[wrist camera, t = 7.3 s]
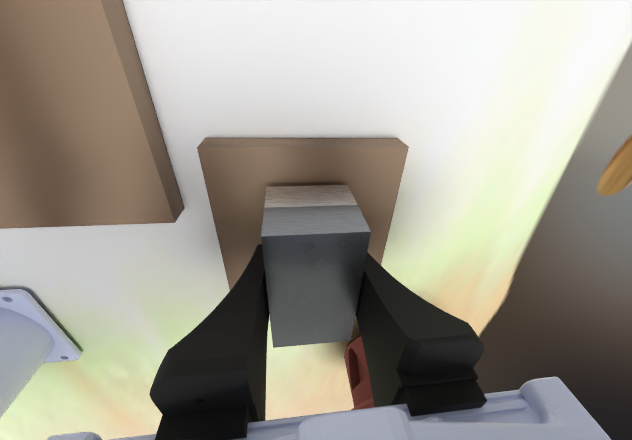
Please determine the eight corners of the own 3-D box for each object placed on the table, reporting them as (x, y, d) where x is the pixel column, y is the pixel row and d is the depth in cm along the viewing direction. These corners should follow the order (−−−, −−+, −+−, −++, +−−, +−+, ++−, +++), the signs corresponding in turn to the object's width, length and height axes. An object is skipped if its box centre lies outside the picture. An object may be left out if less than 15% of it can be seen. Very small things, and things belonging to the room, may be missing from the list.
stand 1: (-13, 213, 14) (-43, 230, 12) (-270, -103, 7) (-381, -135, 6) (183, 208, 15) (174, 222, 13) (100, -72, 9) (69, -93, 7)
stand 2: (236, 288, 19) (233, 305, 17) (205, 138, 13) (197, 147, 11) (367, 280, 20) (373, 295, 19) (397, 138, 14) (408, 146, 12)
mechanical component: (328, 367, 27) (320, 309, 21) (420, 352, 27) (436, 291, 22) (357, 562, 17) (356, 548, 11) (503, 533, 17) (574, 505, 11)
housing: (274, 286, 16) (273, 347, 13) (266, 186, 12) (261, 236, 9) (336, 282, 16) (350, 340, 13) (347, 184, 13) (371, 231, 9)
